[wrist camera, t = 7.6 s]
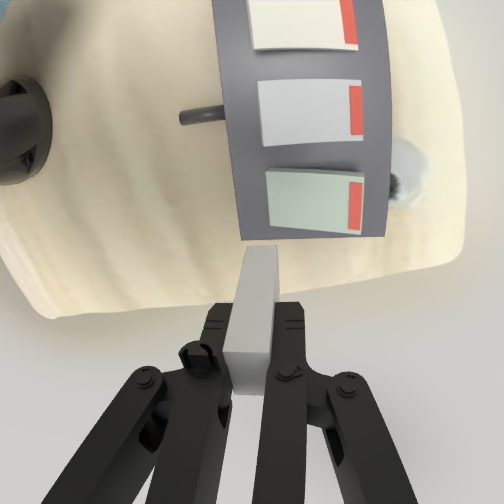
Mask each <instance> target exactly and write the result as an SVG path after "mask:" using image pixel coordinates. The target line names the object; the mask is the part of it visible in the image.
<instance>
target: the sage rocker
mask: <svg viewBox="0 0 504 504" xmlns="http://www.w3.org/2000/svg"><path fill="white" fill-rule="evenodd" d="M364 177H365V173H361V172H349V171H334V170H318V169H296V168H269V169H268V170H267V171H266V182H267V194H268V205H269V218H270V226H278V227H289V228H299V229H309V230H319V231H329V232H338V233H348V234H357V235H361V230H362V217H363V201H364Z"/></svg>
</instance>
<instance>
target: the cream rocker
mask: <svg viewBox="0 0 504 504" xmlns="http://www.w3.org/2000/svg"><path fill="white" fill-rule="evenodd" d="M246 4H247V12H248V21H249V29H250V37H251V46H252V51H264V50H332V51H347V52H353V51H358V42H357V33H356V25H355V17H354V10H353V3H352V0H246Z"/></svg>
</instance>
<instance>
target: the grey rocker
mask: <svg viewBox="0 0 504 504" xmlns="http://www.w3.org/2000/svg"><path fill="white" fill-rule="evenodd" d="M256 91H257V101H258V111H259V120H260V131H261V141H262V145H263V146H264V147H266V146H277V145H288V144H301V143H316V142H337V141H363V108H362V86H361V80H350V79H285V80H267V81H257V82H256Z"/></svg>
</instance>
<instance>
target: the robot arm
mask: <svg viewBox="0 0 504 504" xmlns="http://www.w3.org/2000/svg"><path fill="white" fill-rule="evenodd" d="M9 2H10V0H0V24H1V21H2V19H3V16H4V14H5V11H6V9H7V6H8V4H9ZM51 132H52V124H51V114H50V108H49V104H48V101H47V98H46V96H45V94H44V92H43V90H42V88H41V87H40V86H39V84H38V83H37V82H36V81H34V80H33V79H31V78H29V77H26V76H17V77H12V78H7V79H5V80H3V81H1V82H0V186H4V185H12V184H18V183H21V182H23V181H25V180H27V179H29V178H30V177H32V176H34V175H35V174H36V173H37V172H38V171H39V170H40V169H41V167H42V166H43V164H44V162H45V160H46V158H47V155H48V152H49V148H50V143H51ZM279 291H280V288H279V270H278V253H277V246H249V247H246V251H245V255H244V260H243V264H242V268H241V273H240V277H239V281H238V286H237V290H236V294H235V299H234V303H215V304H214V306H213V307H212V308H211V309H210V310H209V311H208V315H207V318H206V322H205V324H204V329H203V331H202V334H201V337H200V340H199V341H192V342H190V343H187V344H186V345H185V346H183V347H182V348H181V350H180V351H179V353H178V355H179V357H180V359H181V361H182V364H183V366H184V368H182V369H179V370H175V371H169V372H164V373H161V372H160V370H159V369H157V368H156V367H153V366H144V367H141V368H139V369H137V370H135V371H134V372H133V373H132V374H131V376H130V377H129V378H128V380H127V381H126V383H125V384H124V385H123V387H122V388H121V389H120V391H119V392H118V393H117V395H116V396H115V398H114V399H113V400H112V402H111V403H110V405H109V406H108V407H107V409H106V410H105V412H104V413H103V414H102V416H101V417H100V419H99V420H98V421H97V423H96V424H95V426H94V427H93V428H92V430H91V431H90V433H89V434H88V436H87V437H86V438H85V440H84V441H83V443H82V444H81V445H80V447H79V448H78V450H77V451H76V453H75V454H74V456H73V457H72V458H71V460H70V461H69V463H68V464H67V466H66V467H65V469H64V470H63V472H62V473H61V474H60V476H59V477H58V479H57V480H56V482H55V484H54V485H53V486H52V488H51V489H50V491H49V492H48V494H47V495H46V497H45V498H44V500H43V501H42V503H41V504H132V503H133V501H134V500H135V498H136V496H137V495H138V493H139V491H140V490H141V488H142V486H143V484H144V483H145V481H146V480H147V478H148V476H149V475H150V473H151V471H152V470H153V468H154V466H155V469H154V472H153V476H152V480H151V483H150V487H149V491H148V494H147V498H146V502H145V504H216V500H217V493H218V487H219V482H220V477H221V471H222V465H223V459H224V453H225V447H226V442H227V435H228V430H229V423H230V418H231V412H232V400H231V394H232V389H233V392H234V394H237V395H261V396H262V395H263V396H264V404H263V412H262V422H261V431H260V440H259V449H258V457H257V466H256V474H255V482H254V490H253V498H252V504H304V499H305V477H306V444H307V442H306V441H307V424H309V425H313V426H316V427H320V428H322V431H323V434H324V438H325V441H326V444H327V448H328V451H329V454H330V457H331V461H332V463H333V467H334V470H335V473H336V477H337V480H338V484H339V487H340V490H341V494H342V497H343V500H344V504H418V502H417V499H416V497H415V494H414V492H413V490H412V486H411V484H410V481H409V479H408V476H407V474H406V471H405V469H404V466H403V464H402V461H401V459H400V457H399V455H398V452H397V450H396V447H395V445H394V442H393V440H392V438H391V435H390V433H389V431H388V428H387V426H386V424H385V422H384V419H383V417H382V415H381V412H380V410H379V408H378V406H377V403H376V401H375V399H374V397H373V395H372V392H371V390H370V388H369V386H368V384H367V382H366V380H365V379H364V378H363V377H362V376H360V375H359V374H357V373H354V372H341V373H339V374H337V375H335V376H334V377H331V376H327V375H322V374H320V373H317V372H315V371H314V370H312V369H311V368H310V367H309V365H308V363H307V361H306V350H305V322H304V321H305V320H304V309H303V308H302V306H301V304H300V303H299V302H279Z"/></svg>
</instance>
